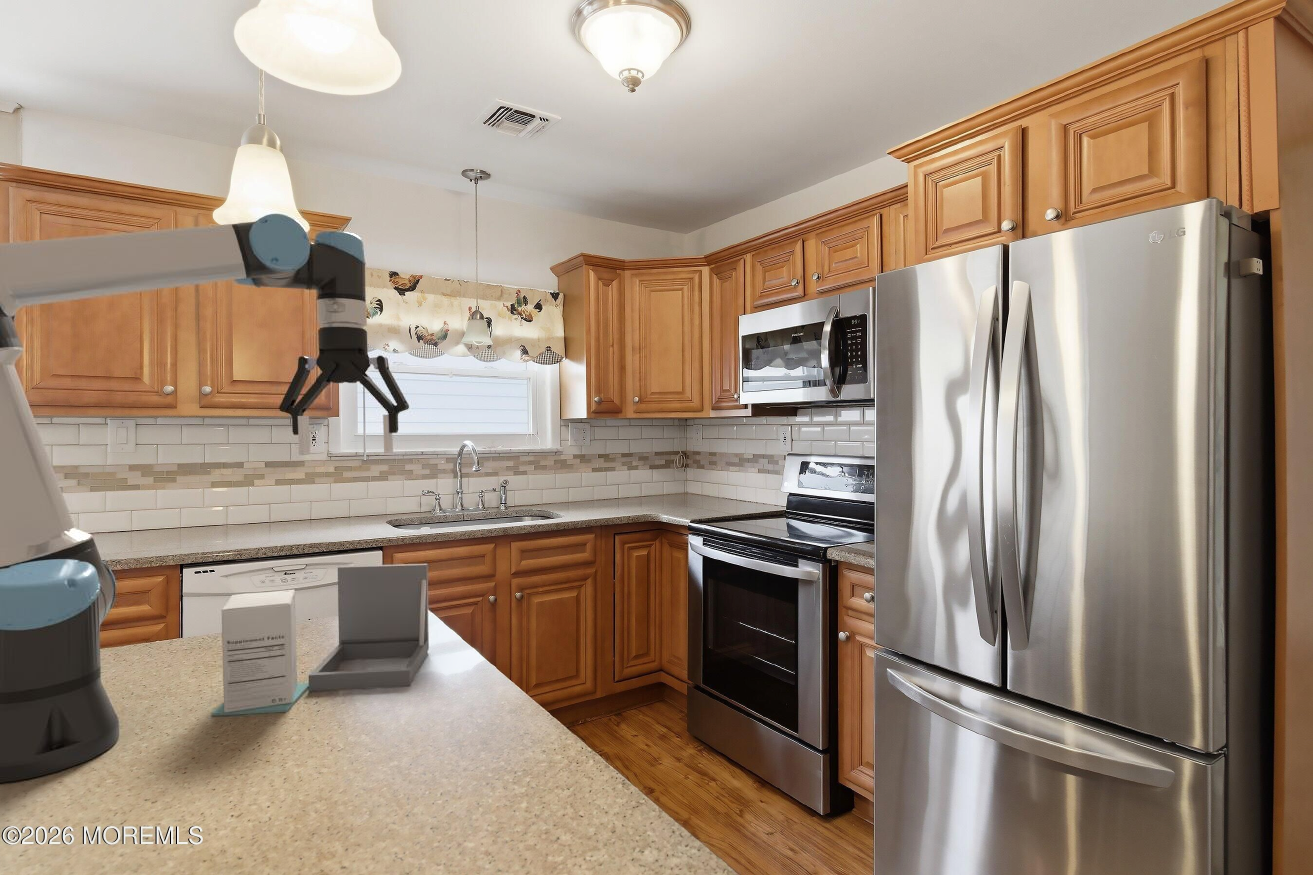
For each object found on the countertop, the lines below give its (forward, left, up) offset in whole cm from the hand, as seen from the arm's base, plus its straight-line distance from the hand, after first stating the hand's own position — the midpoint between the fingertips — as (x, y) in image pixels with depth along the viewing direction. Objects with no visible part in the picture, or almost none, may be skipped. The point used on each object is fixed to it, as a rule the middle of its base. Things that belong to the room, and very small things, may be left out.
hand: (346, 454), depth 119 cm
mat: (-8, -14, -36) cm, 39 cm away
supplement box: (-9, -14, -36) cm, 39 cm away
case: (+5, -4, -36) cm, 36 cm away
